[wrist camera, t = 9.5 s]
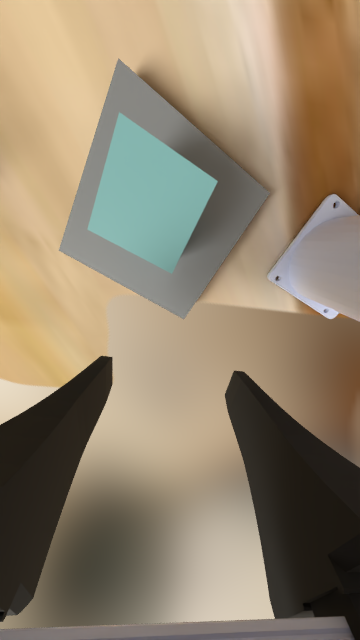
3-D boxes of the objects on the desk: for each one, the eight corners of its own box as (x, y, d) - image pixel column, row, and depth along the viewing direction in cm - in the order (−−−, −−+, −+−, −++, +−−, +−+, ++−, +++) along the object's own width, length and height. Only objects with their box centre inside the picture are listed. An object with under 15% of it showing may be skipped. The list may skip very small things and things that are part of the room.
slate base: (255, 199, 15) (270, 193, 13) (182, 309, 19) (184, 319, 17) (128, 92, 12) (118, 58, 10) (74, 248, 16) (58, 250, 14)
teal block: (199, 204, 13) (217, 181, 8) (172, 260, 15) (171, 273, 9) (144, 168, 12) (119, 112, 7) (121, 233, 14) (87, 229, 8)
